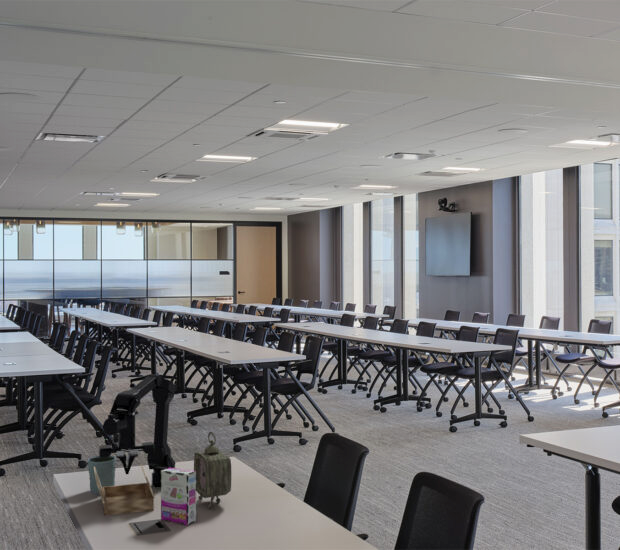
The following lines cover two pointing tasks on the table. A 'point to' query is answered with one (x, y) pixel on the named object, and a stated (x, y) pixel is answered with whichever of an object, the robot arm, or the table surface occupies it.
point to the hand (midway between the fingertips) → (126, 474)
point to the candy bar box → (178, 496)
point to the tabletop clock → (212, 472)
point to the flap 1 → (99, 484)
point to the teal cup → (101, 472)
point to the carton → (127, 499)
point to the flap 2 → (147, 480)
